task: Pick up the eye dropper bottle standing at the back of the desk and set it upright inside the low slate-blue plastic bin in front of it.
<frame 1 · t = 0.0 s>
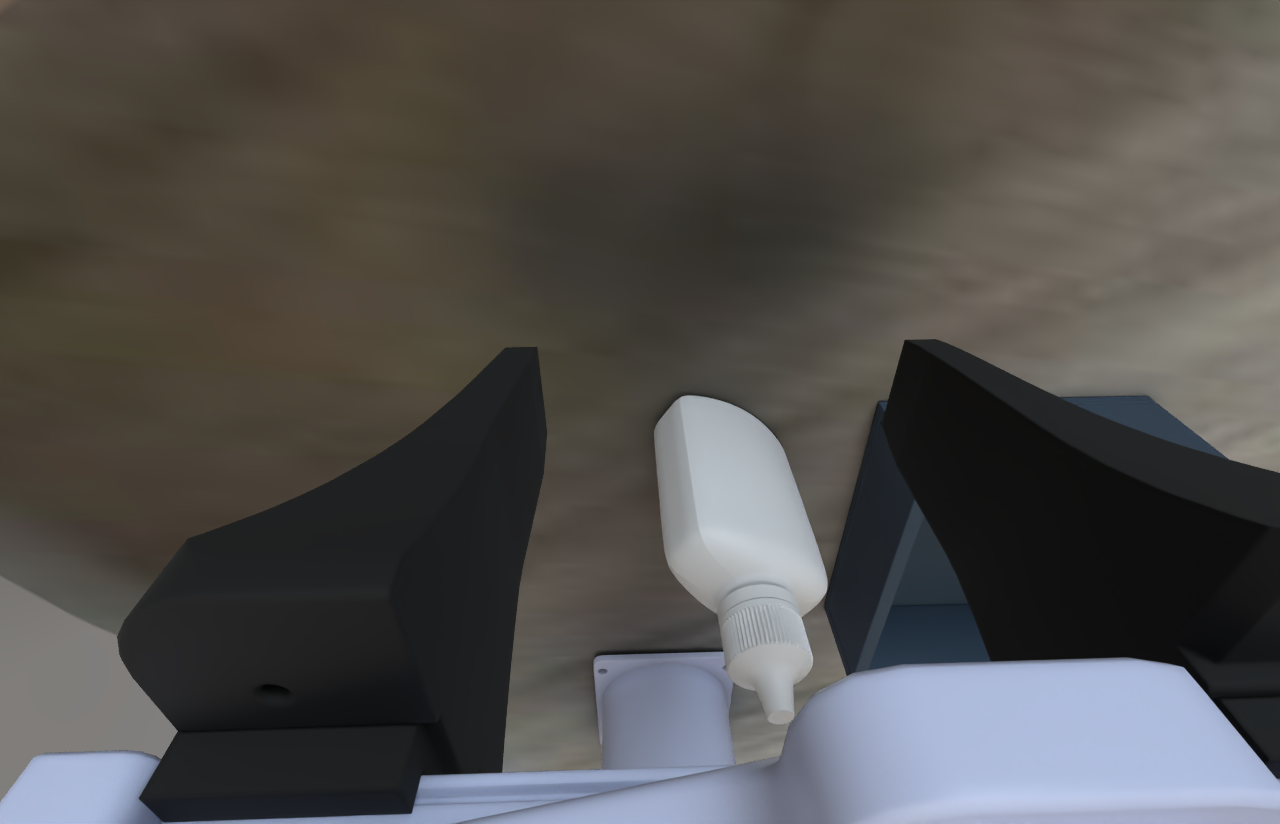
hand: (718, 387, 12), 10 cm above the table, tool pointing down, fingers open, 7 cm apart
bin: (965, 514, 29), on the table
eye dropper bottle: (718, 433, 26), on the table
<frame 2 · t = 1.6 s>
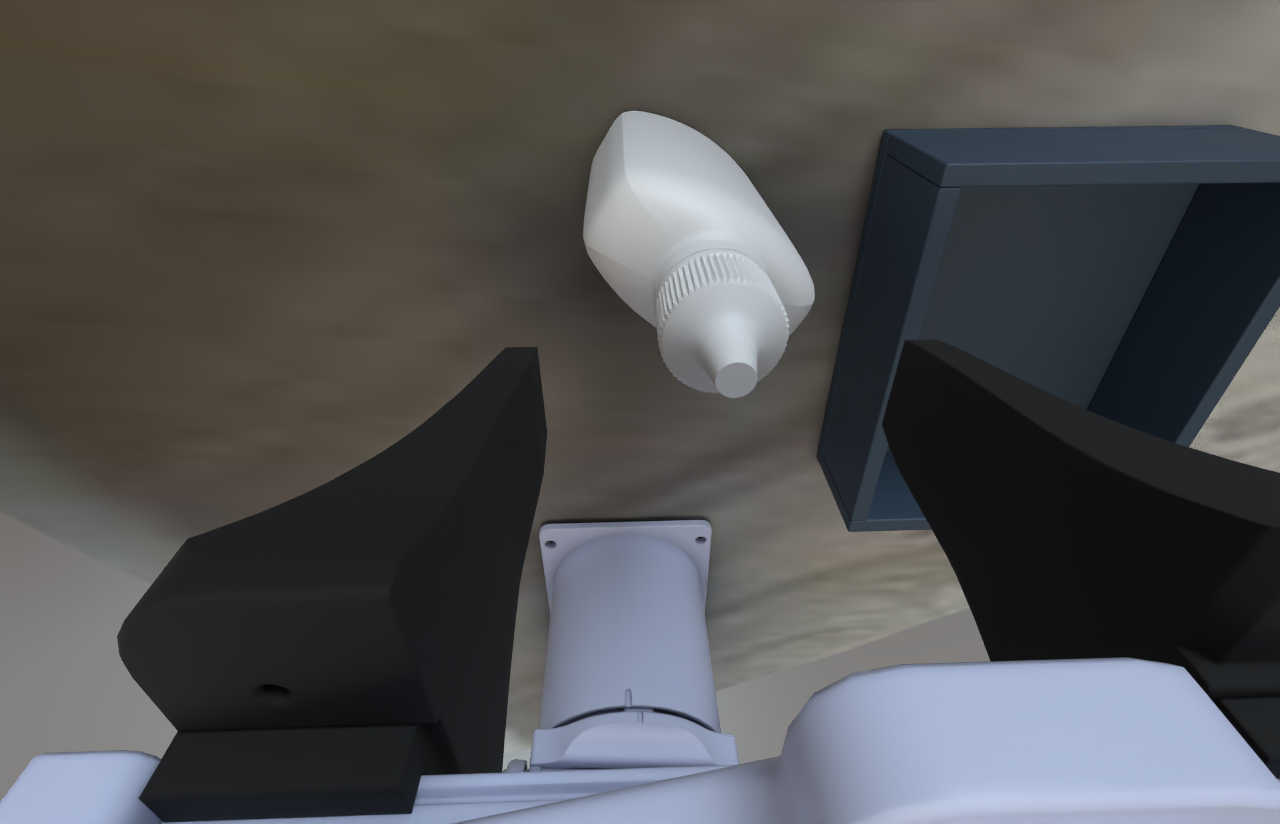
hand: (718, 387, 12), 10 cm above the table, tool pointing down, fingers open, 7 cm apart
bin: (991, 317, 23), on the table
eye dropper bottle: (677, 183, 20), on the table
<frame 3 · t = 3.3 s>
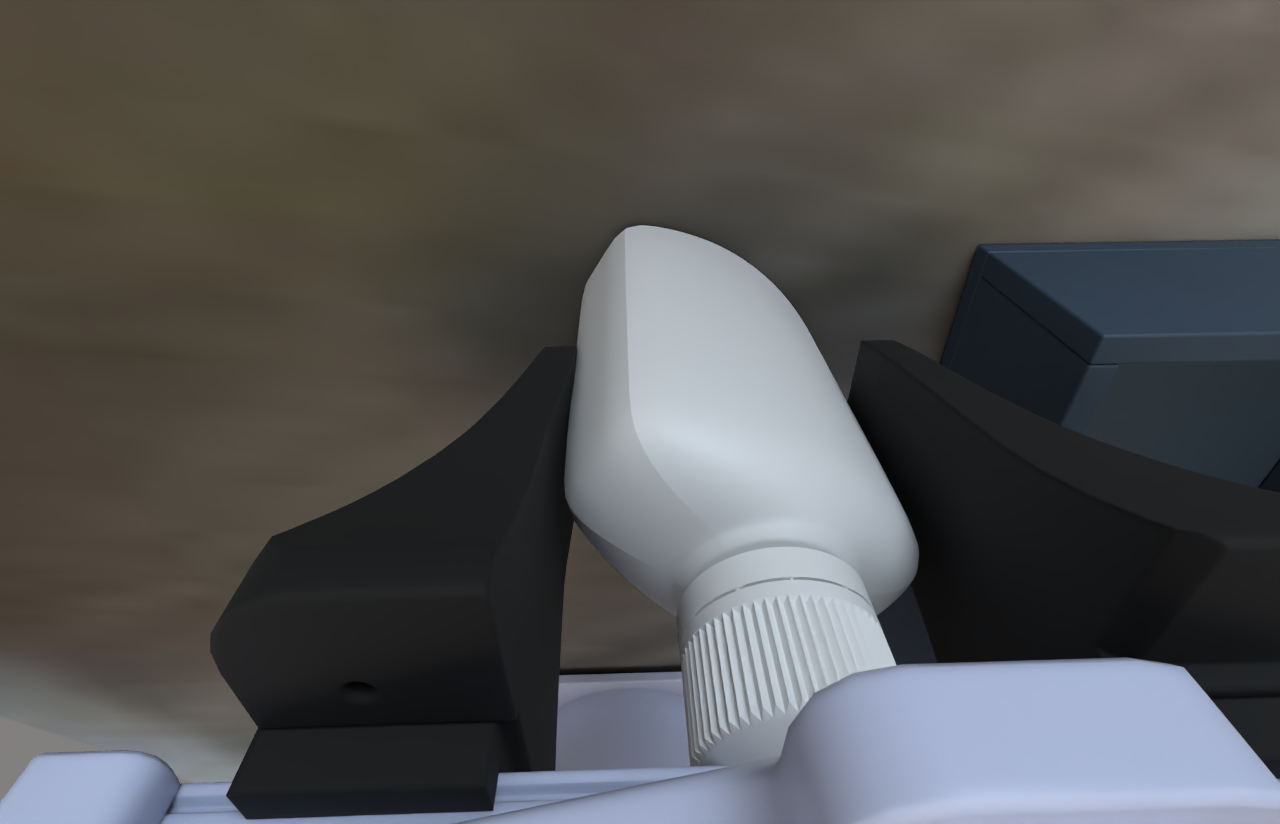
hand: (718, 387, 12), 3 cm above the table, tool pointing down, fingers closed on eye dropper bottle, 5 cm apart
bin: (1094, 458, 18), on the table
eye dropper bottle: (697, 308, 15), on the table, touching gripper
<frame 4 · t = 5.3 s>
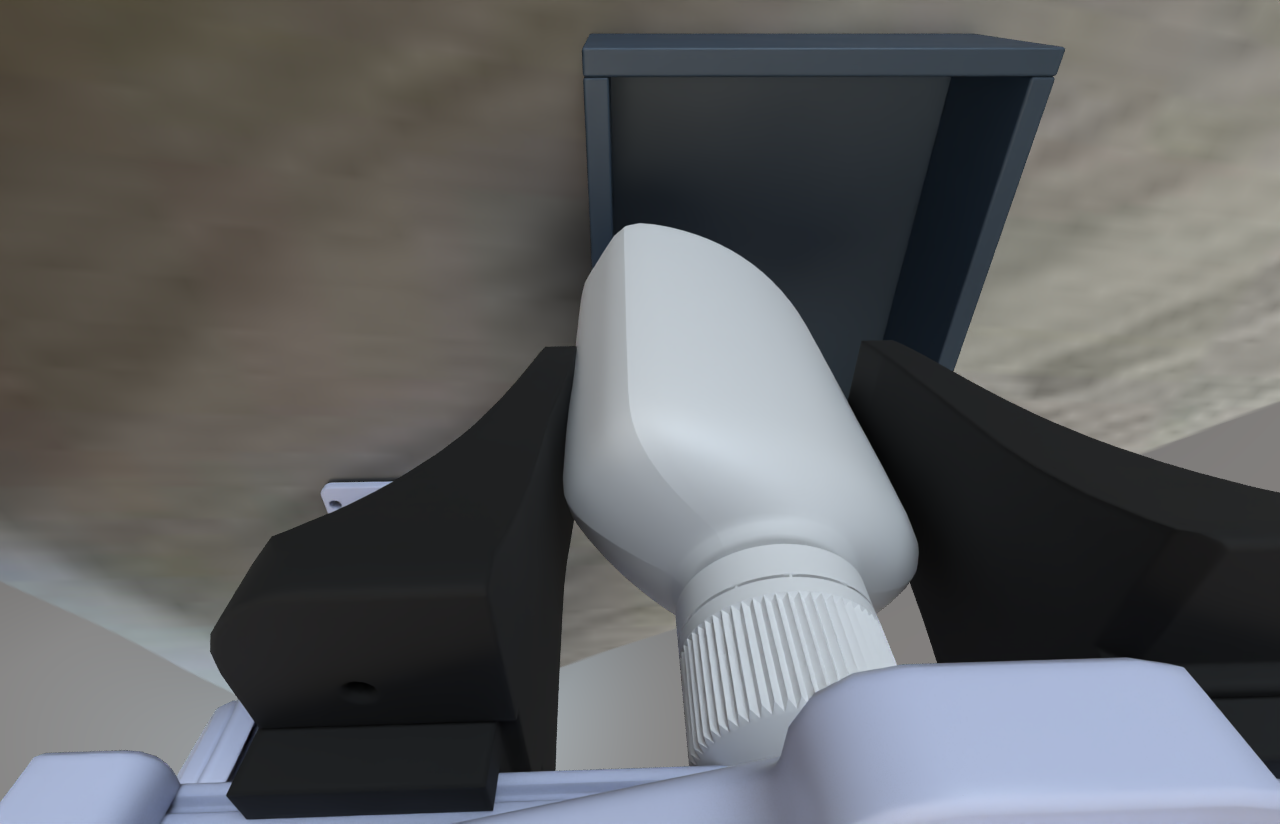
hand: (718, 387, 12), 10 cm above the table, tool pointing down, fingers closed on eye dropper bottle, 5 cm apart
bin: (757, 254, 21), on the table
eye dropper bottle: (696, 306, 15), point 7 cm above the table, touching gripper
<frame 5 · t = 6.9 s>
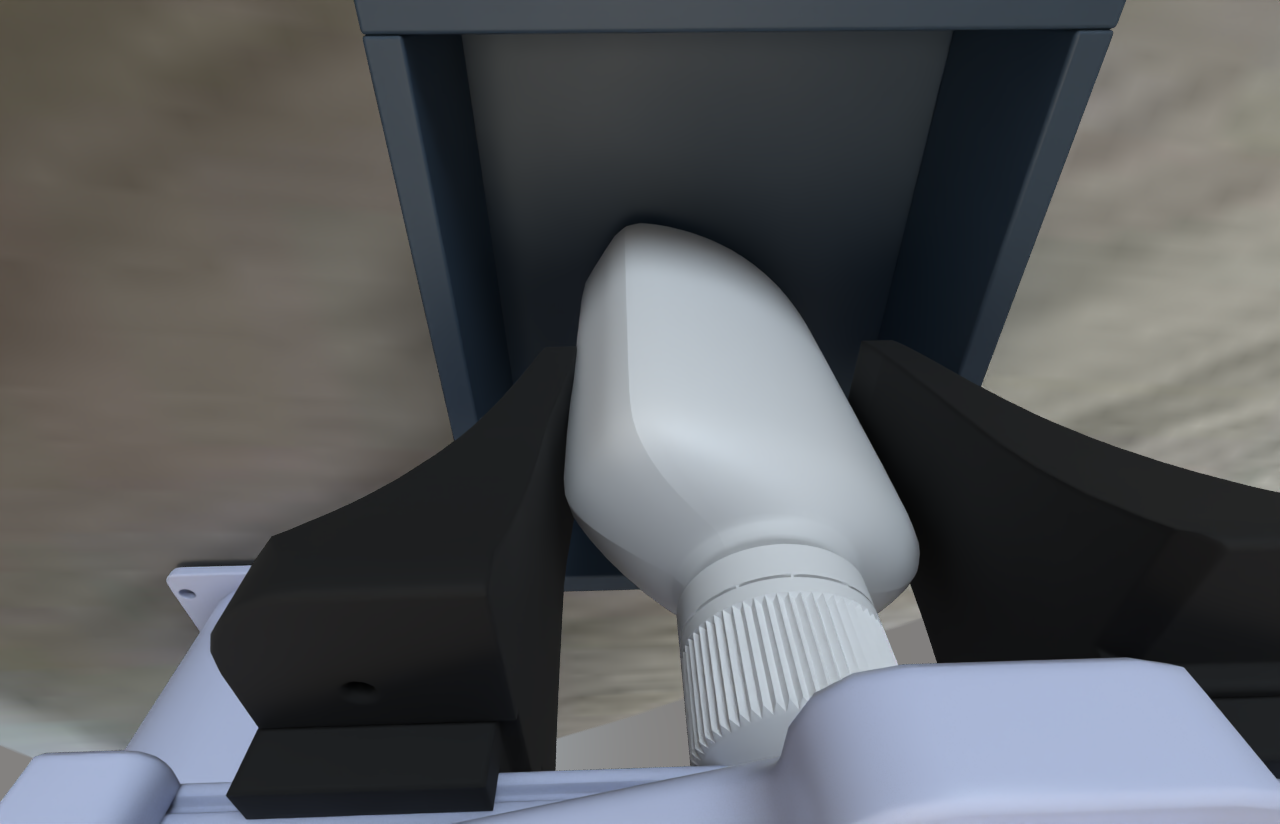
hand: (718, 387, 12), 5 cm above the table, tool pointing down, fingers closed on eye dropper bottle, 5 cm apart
bin: (694, 287, 16), on the table
eye dropper bottle: (697, 306, 15), point 1 cm above the table, touching gripper
when the fingers open (4 cm above the table, at t = 7.7 s): eye dropper bottle stays where it is, resting on bin.
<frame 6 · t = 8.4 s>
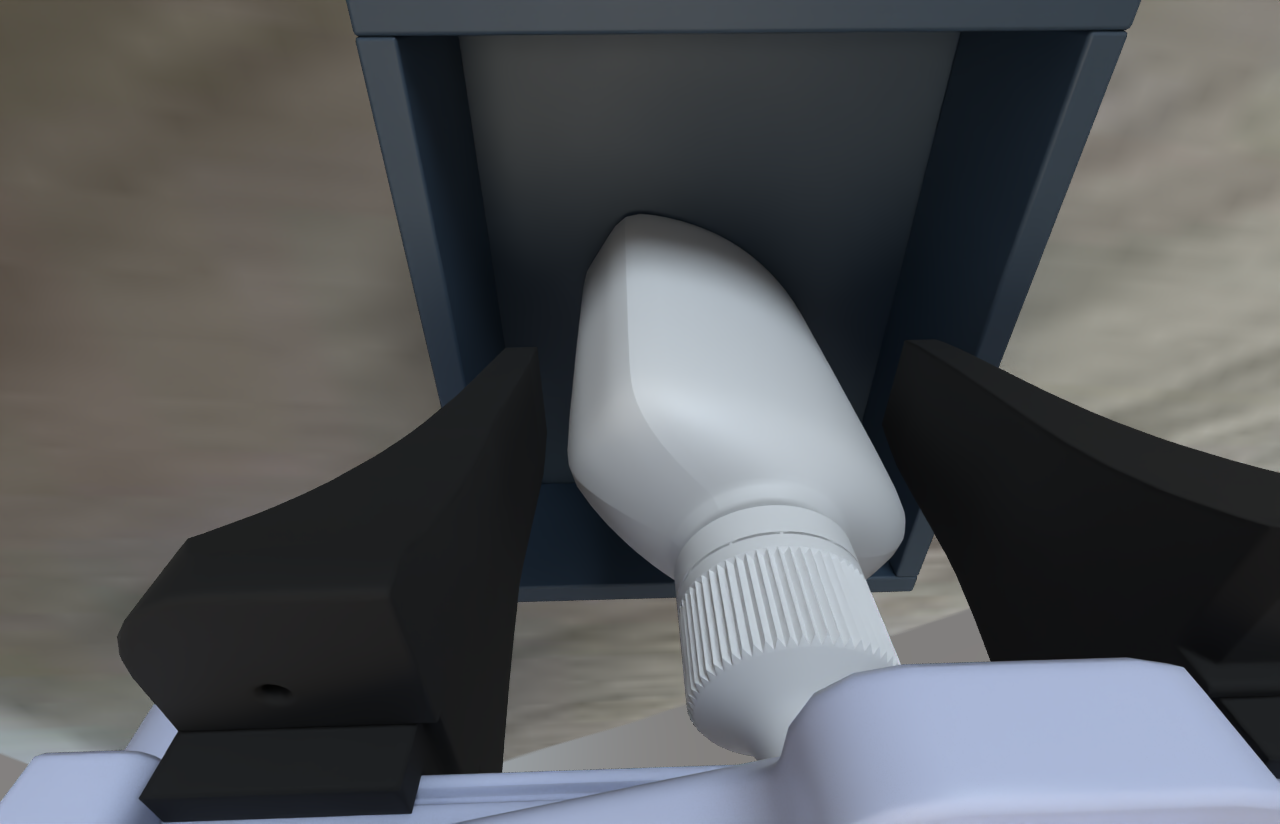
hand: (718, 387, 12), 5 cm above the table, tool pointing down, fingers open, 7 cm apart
bin: (695, 292, 16), on the table
eye dropper bottle: (695, 295, 16), resting on bin
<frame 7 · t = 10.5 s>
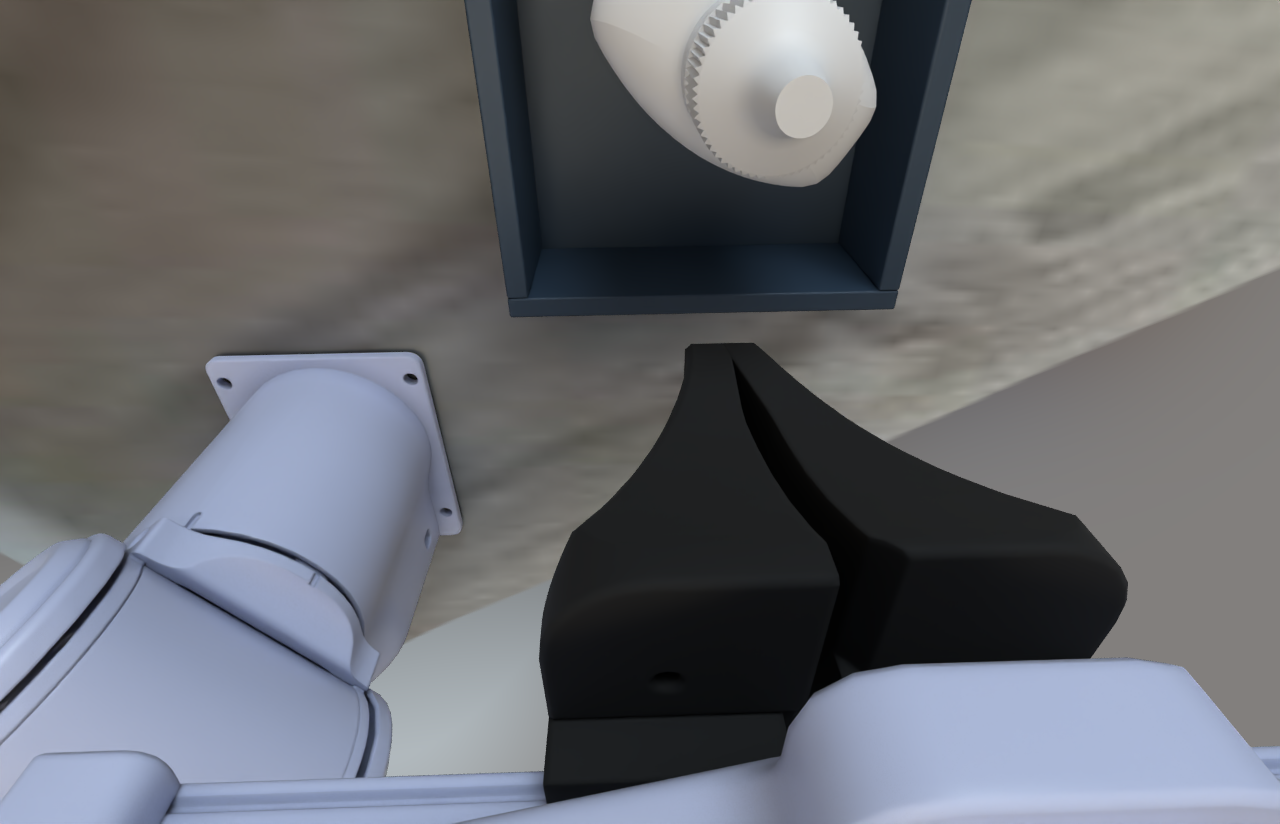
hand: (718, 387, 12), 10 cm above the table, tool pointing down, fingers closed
bin: (697, 36, 18), on the table
eye dropper bottle: (697, 35, 17), resting on bin
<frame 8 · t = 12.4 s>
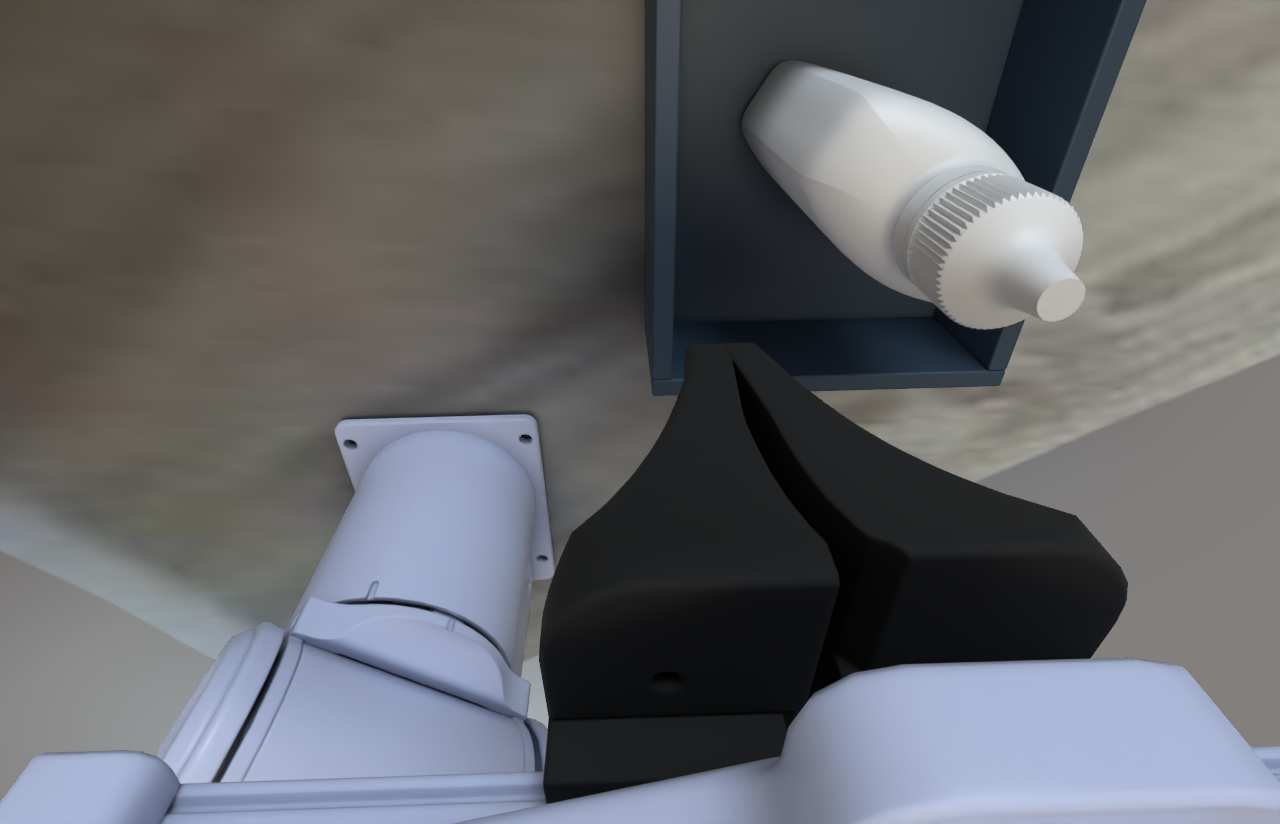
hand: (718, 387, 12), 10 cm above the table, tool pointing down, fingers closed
bin: (820, 141, 19), on the table
eye dropper bottle: (822, 141, 19), resting on bin
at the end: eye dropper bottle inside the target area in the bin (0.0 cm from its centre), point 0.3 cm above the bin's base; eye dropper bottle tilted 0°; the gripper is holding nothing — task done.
